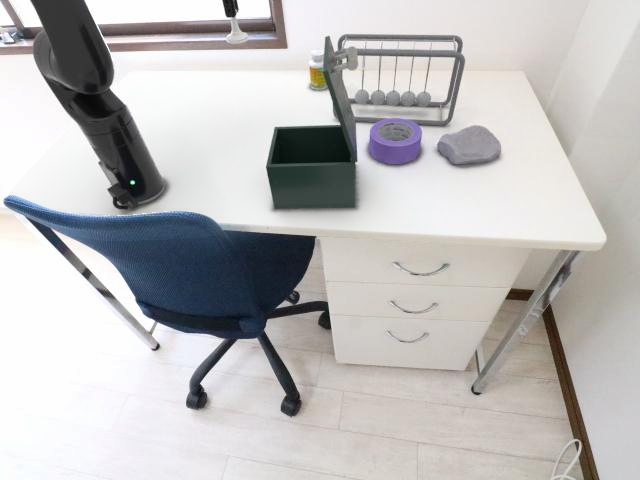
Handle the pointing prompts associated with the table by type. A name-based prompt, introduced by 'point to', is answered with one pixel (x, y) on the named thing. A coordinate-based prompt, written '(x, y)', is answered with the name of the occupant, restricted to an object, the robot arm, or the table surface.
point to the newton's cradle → (408, 96)
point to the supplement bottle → (317, 70)
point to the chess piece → (236, 33)
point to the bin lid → (341, 91)
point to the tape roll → (395, 150)
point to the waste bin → (310, 168)
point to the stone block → (470, 145)
